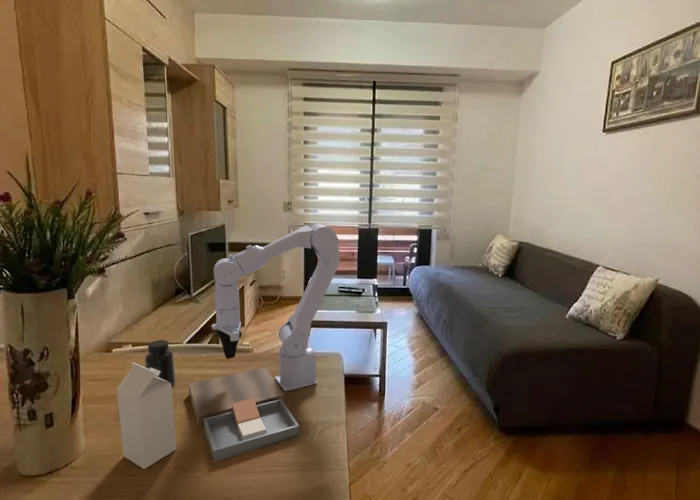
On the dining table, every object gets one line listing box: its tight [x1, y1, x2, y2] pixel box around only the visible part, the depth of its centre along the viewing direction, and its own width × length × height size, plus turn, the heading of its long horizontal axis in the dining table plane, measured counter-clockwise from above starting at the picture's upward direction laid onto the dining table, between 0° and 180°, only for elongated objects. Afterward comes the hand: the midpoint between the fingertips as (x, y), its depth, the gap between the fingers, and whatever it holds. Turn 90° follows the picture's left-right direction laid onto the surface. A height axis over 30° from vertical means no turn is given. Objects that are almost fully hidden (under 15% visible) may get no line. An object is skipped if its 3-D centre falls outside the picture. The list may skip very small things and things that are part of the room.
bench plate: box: [188, 366, 286, 429], centre depth 104 cm, size 20×16×3 cm
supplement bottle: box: [144, 339, 176, 387], centre depth 109 cm, size 7×7×12 cm
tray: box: [203, 399, 301, 463], centre depth 91 cm, size 18×12×2 cm, turn 118°
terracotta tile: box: [232, 398, 260, 425], centre depth 94 cm, size 5×5×2 cm
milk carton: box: [116, 361, 177, 470], centre depth 82 cm, size 7×7×19 cm
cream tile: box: [237, 417, 266, 441], centre depth 90 cm, size 5×5×2 cm
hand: (230, 357), depth 106 cm, fingers closed
